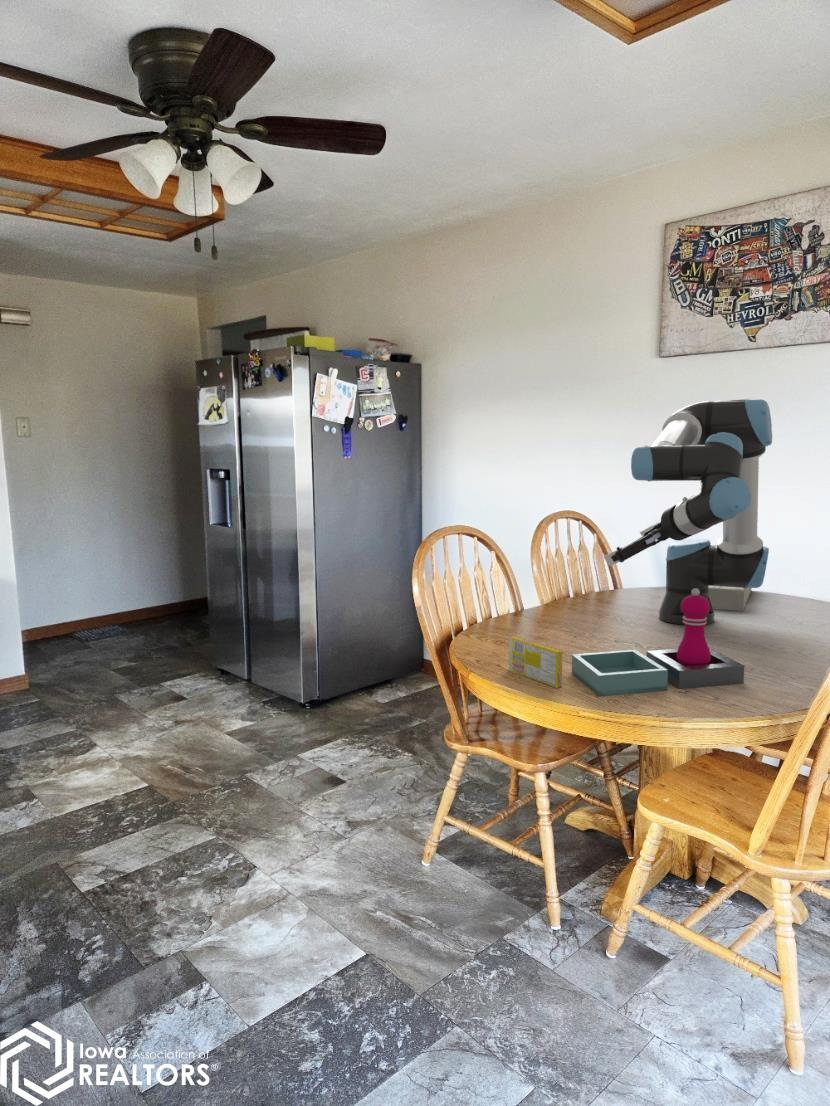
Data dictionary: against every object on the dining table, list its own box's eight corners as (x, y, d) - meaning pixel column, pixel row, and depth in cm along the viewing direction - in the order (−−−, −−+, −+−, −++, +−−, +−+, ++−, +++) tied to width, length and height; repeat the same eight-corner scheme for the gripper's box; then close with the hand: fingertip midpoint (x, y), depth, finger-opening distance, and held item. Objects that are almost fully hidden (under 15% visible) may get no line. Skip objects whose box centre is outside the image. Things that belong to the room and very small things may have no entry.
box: (745, 613, 217) (752, 591, 244) (745, 588, 215) (752, 569, 243) (665, 608, 228) (680, 587, 255) (665, 584, 226) (680, 566, 254)
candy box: (563, 686, 156) (563, 650, 155) (556, 689, 155) (556, 652, 154) (514, 668, 170) (514, 635, 169) (507, 670, 169) (507, 636, 168)
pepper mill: (715, 680, 157) (718, 591, 154) (682, 680, 157) (685, 592, 154) (703, 669, 164) (705, 584, 161) (671, 670, 165) (673, 585, 161)
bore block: (705, 662, 169) (706, 646, 169) (743, 683, 155) (744, 665, 154) (646, 667, 167) (646, 650, 167) (679, 688, 153) (679, 670, 152)
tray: (634, 668, 167) (635, 649, 166) (667, 690, 152) (667, 669, 151) (571, 673, 165) (571, 654, 164) (598, 696, 150) (598, 675, 149)
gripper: (710, 481, 160) (649, 513, 179) (639, 529, 149) (582, 558, 168) (728, 509, 159) (666, 539, 178) (659, 559, 148) (600, 585, 167)
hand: (625, 548), depth 173 cm, fingers open, 13 cm apart
